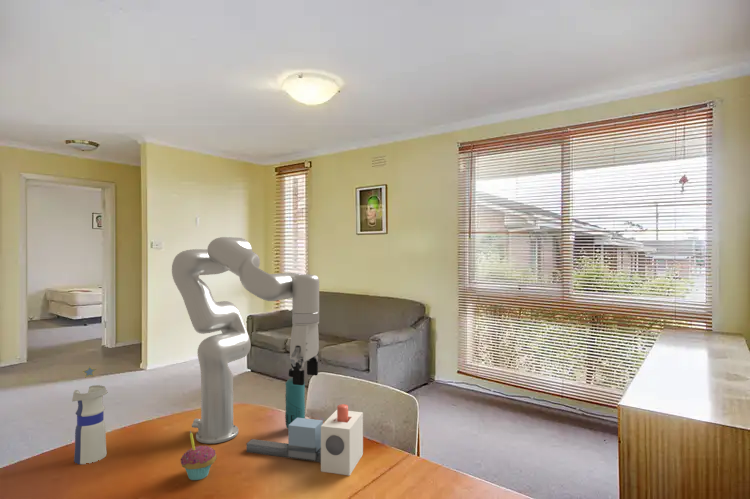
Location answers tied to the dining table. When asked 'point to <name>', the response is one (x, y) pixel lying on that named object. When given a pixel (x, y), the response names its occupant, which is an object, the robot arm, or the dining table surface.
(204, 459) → the cupcake
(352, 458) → the cabinet
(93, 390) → the cream tall piece
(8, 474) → the dining table surface
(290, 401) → the beverage bottle
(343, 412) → the button
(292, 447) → the carriage
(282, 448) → the rail
